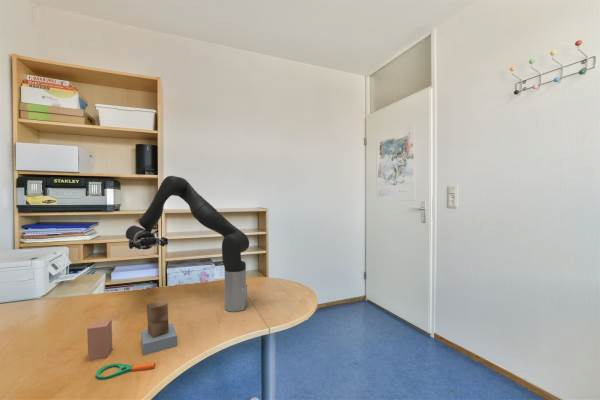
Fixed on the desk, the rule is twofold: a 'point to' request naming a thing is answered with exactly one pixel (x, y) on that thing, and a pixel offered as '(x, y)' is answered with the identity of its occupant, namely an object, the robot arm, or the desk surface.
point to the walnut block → (157, 318)
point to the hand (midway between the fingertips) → (151, 245)
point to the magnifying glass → (121, 369)
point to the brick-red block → (99, 339)
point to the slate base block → (158, 341)
